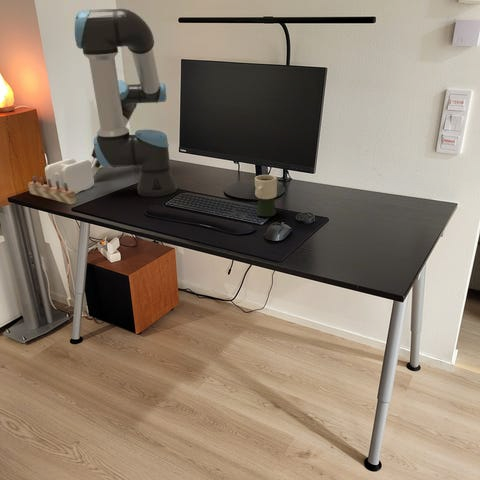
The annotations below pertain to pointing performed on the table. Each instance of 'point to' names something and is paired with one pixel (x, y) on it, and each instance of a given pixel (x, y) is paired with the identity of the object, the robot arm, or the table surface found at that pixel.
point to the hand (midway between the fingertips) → (91, 173)
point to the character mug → (266, 194)
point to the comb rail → (52, 191)
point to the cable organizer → (71, 174)
